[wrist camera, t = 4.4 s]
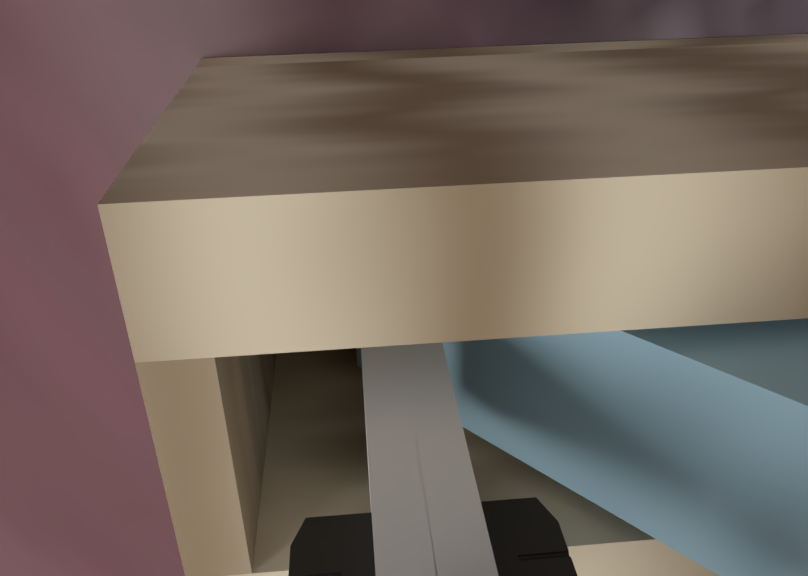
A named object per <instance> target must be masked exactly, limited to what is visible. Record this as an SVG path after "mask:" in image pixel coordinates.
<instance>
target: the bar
mask: <svg viewBox="0 0 808 576" xmlns="http://www.w3.org/2000/svg"><path fill="white" fill-rule="evenodd" d="M442 344H443V348H444V352H445V356H446V360H447V364H448V369H449V373H450V377H451V381H452V385H453V389H454V393H455V398H456V402H457V406H458V410H459V414H460V418H461V422H462V427H464V428H465V429H467V430H469V431H471V432H472V433H474V434H476V435H478V436H479V437H481V438H483V439H484V440H486V441H488V442H490V443H491V444H493V445H495V446H497V447H498V448H500V449H502V450H503V451H505V452H507V453H509V454H510V455H512V456H514V457H515V458H517V459H519V460H521V461H522V462H524V463H526V464H528V465H529V466H531V467H533V468H534V469H536V470H538V471H540V472H541V473H543V474H545V475H547V476H548V477H550V478H552V479H553V480H555V481H557V482H559V483H560V484H562V485H564V486H565V487H567V488H569V489H571V490H572V491H574V492H576V493H578V494H579V495H581V496H583V497H584V498H586V499H588V500H590V501H591V502H593V503H595V504H597V505H598V506H600V507H602V508H603V509H605V510H607V511H609V512H610V513H612V514H614V515H615V516H617V517H619V518H621V519H622V520H624V521H626V522H628V523H629V524H631V525H633V526H634V527H636V528H638V529H640V530H641V531H643V532H645V533H647V534H648V535H650V536H652V537H653V538H655V539H657V540H659V541H660V542H662V543H664V544H665V545H667V546H669V547H671V548H672V549H674V550H676V551H678V552H679V553H681V554H683V555H684V556H686V557H688V558H690V559H691V560H693V561H695V562H697V563H698V564H700V565H702V566H703V567H705V568H707V569H709V570H710V571H712V572H714V573H715V574H717V575H719V576H808V318H804V319H789V320H774V321H759V322H744V323H728V324H713V325H698V326H683V327H668V328H653V329H638V330H622V331H607V332H592V333H577V334H562V335H547V336H532V337H516V338H501V339H486V340H471V341H456V342H442ZM356 355H357V366H359V367H360V368H362V357H361V348H356Z"/></svg>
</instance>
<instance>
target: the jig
mask: <svg viewBox="0 0 808 576" xmlns="http://www.w3.org/2000/svg"><path fill="white" fill-rule="evenodd" d="M97 205H98V209H99V213H100V217H101V221H102V226H103V230H104V234H105V238H106V243H107V247H108V251H109V255H110V260H111V264H112V268H113V272H114V276H115V281H116V285H117V289H118V293H119V298H120V302H121V306H122V310H123V315H124V319H125V323H126V327H127V332H128V336H129V340H130V344H131V348H132V353H133V357H134V361H135V365H136V370H137V374H138V378H139V382H140V387H141V391H142V395H143V399H144V403H145V408H146V412H147V416H148V420H149V425H150V429H151V433H152V437H153V442H154V446H155V450H156V454H157V459H158V463H159V467H160V471H161V475H162V480H163V484H164V488H165V492H166V497H167V501H168V505H169V509H170V514H171V518H172V522H173V526H174V530H175V535H176V539H177V543H178V547H179V552H180V556H181V560H182V564H183V569H184V573H185V576H289V560H290V545H291V544H292V542H293V540H294V538H295V536H296V534H297V533H298V531H299V529H300V527H301V525H302V524H303V522H304V520H305V518H308V517H320V516H333V515H345V514H358V513H370V512H371V504H370V489H369V473H368V458H367V441H366V424H365V407H364V390H363V373H362V368H360V367H359V366H357V355H356V348H365V347H380V346H395V345H411V344H426V343H441V342H456V341H471V340H486V339H501V338H516V337H532V336H547V335H562V334H577V333H592V332H607V331H622V330H638V329H653V328H668V327H683V326H698V325H713V324H728V323H744V322H759V321H774V320H789V319H804V318H808V34H790V35H765V36H740V37H715V38H690V39H665V40H640V41H616V42H591V43H566V44H541V45H516V46H491V47H466V48H442V49H417V50H392V51H367V52H342V53H317V54H293V55H268V56H243V57H218V58H202V59H201V60H200V62H199V63H198V65H197V66H196V67H195V69H194V70H193V72H192V73H191V74H190V76H189V77H188V79H187V80H186V81H185V83H184V84H183V86H182V87H181V88H180V90H179V91H178V93H177V94H176V95H175V97H174V98H173V100H172V101H171V102H170V104H169V105H168V107H167V108H166V109H165V111H164V112H163V114H162V115H161V116H160V118H159V119H158V121H157V122H156V123H155V125H154V126H153V128H152V129H151V130H150V132H149V133H148V134H147V136H146V137H145V139H144V140H143V141H142V143H141V144H140V146H139V147H138V148H137V150H136V151H135V153H134V154H133V155H132V157H131V158H130V160H129V161H128V162H127V164H126V165H125V167H124V168H123V169H122V171H121V172H120V174H119V175H118V176H117V178H116V179H115V181H114V182H113V183H112V185H111V186H110V188H109V189H108V190H107V192H106V193H105V195H104V196H103V197H102V199H101V200H100V201H99V203H98V204H97ZM463 431H464V435H465V439H466V443H467V447H468V451H469V455H470V460H471V464H472V468H473V472H474V476H475V480H476V484H477V489H478V493H479V497H480V501H481V502H482V501H494V500H507V499H519V498H532V497H536V498H537V499H538V500H539V501H540V502H541V503H542V504H543V505H544V506H545V508H546V509H547V510H548V511H549V512H550V513H551V514H552V515H553V516H554V517H555V518H556V519H557V521H558V522H559V525H560V528H561V530H562V533H563V536H564V539H565V542H566V545H567V547H568V550H569V556H570V557H571V559H572V561H573V564H574V567H575V570H576V573H577V576H719V575H717V574H715V573H714V572H712V571H710V570H709V569H707V568H705V567H703V566H702V565H700V564H698V563H697V562H695V561H693V560H691V559H690V558H688V557H686V556H684V555H683V554H681V553H679V552H678V551H676V550H674V549H672V548H671V547H669V546H667V545H665V544H664V543H662V542H660V541H659V540H657V539H655V538H653V537H652V536H650V535H648V534H647V533H645V532H643V531H641V530H640V529H638V528H636V527H634V526H633V525H631V524H629V523H628V522H626V521H624V520H622V519H621V518H619V517H617V516H615V515H614V514H612V513H610V512H609V511H607V510H605V509H603V508H602V507H600V506H598V505H597V504H595V503H593V502H591V501H590V500H588V499H586V498H584V497H583V496H581V495H579V494H578V493H576V492H574V491H572V490H571V489H569V488H567V487H565V486H564V485H562V484H560V483H559V482H557V481H555V480H553V479H552V478H550V477H548V476H547V475H545V474H543V473H541V472H540V471H538V470H536V469H534V468H533V467H531V466H529V465H528V464H526V463H524V462H522V461H521V460H519V459H517V458H515V457H514V456H512V455H510V454H509V453H507V452H505V451H503V450H502V449H500V448H498V447H497V446H495V445H493V444H491V443H490V442H488V441H486V440H484V439H483V438H481V437H479V436H478V435H476V434H474V433H472V432H471V431H469V430H467V429H465V428H464V427H463Z"/></svg>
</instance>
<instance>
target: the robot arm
mask: <svg viewBox="0 0 808 576" xmlns="http://www.w3.org/2000/svg"><path fill="white" fill-rule="evenodd" d="M361 357H362V373H363V390H364V407H365V424H366V441H367V458H368V473H369V489H370V504H371V512H370V513H358V514H345V515H333V516H320V517H308V518H305V520H304V522H303V524H302V525H301V527H300V529H299V531H298V533H297V534H296V536H295V538H294V540H293V542H292V544H291V545H290V560H289V576H577V573H576V570H575V567H574V564H573V561H572V559H571V557H570V556H569V550H568V547H567V545H566V542H565V539H564V536H563V533H562V530H561V528H560V525H559V522H558V521H557V519H556V518H555V517H554V516H553V515H552V514H551V513H550V512H549V511H548V510H547V509H546V508H545V506H544V505H543V504H542V503H541V502H540V501H539V500H538V499H537V498H536V497H532V498H519V499H507V500H494V501H482V502H481V501H480V497H479V493H478V489H477V484H476V480H475V476H474V472H473V468H472V464H471V460H470V455H469V451H468V447H467V443H466V439H465V435H464V431H463V427H462V422H461V418H460V414H459V410H458V406H457V402H456V398H455V393H454V389H453V385H452V381H451V377H450V373H449V369H448V364H447V360H446V356H445V352H444V348H443V344H442V342H441V343H426V344H411V345H395V346H380V347H365V348H361Z"/></svg>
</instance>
